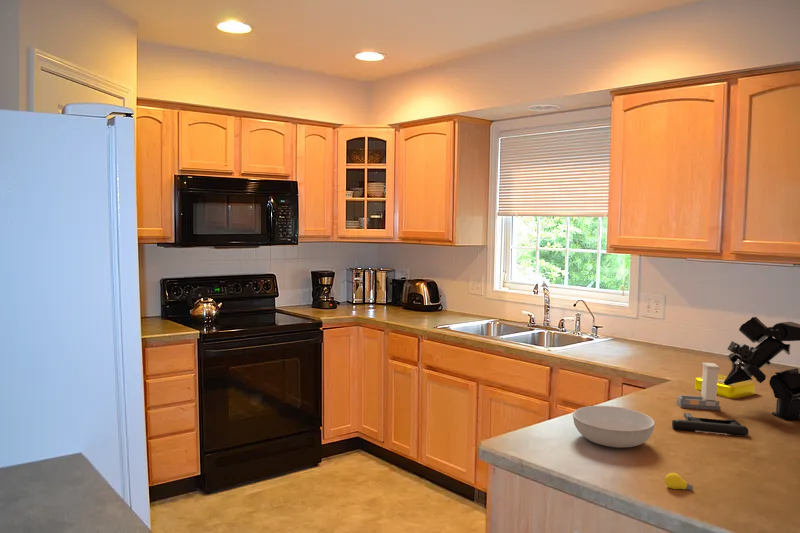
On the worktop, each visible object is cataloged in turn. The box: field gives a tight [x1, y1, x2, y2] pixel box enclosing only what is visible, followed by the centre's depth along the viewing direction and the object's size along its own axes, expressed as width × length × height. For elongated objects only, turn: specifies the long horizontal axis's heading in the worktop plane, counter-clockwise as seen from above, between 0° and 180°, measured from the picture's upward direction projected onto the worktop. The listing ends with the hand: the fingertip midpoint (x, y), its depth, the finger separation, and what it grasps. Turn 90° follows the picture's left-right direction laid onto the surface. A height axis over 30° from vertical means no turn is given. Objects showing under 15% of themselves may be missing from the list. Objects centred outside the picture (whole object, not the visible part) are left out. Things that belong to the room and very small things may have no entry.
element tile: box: [694, 373, 756, 399], centre depth 223 cm, size 15×15×5 cm
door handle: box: [671, 412, 749, 437], centre depth 183 cm, size 3×20×16 cm
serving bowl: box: [572, 405, 656, 448], centre depth 168 cm, size 21×21×7 cm
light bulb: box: [664, 472, 694, 492], centre depth 139 cm, size 3×6×4 cm, turn 74°
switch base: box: [676, 394, 721, 411], centre depth 202 cm, size 12×5×3 cm, turn 80°
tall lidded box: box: [700, 362, 720, 401], centre depth 202 cm, size 4×5×13 cm
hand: (724, 384), depth 201 cm, fingers closed
